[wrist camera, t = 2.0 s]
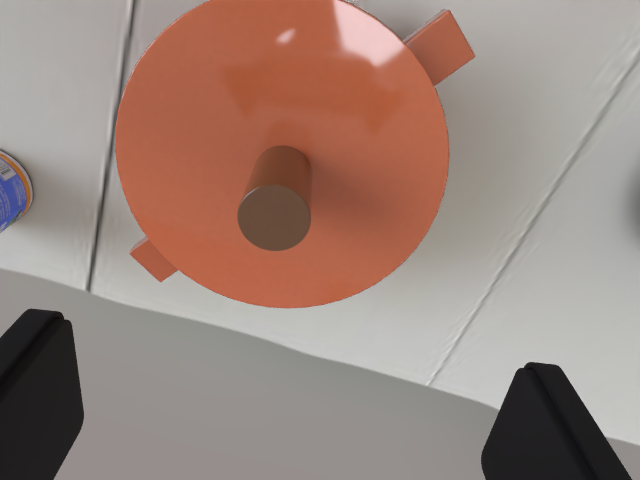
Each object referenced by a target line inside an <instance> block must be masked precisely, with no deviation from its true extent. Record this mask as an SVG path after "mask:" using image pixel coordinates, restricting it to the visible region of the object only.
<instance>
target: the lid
mask: <svg viewBox="0 0 640 480" xmlns="http://www.w3.org/2000/svg"><path fill="white" fill-rule="evenodd" d="M115 152H116V160H117V167H118V174H119V177H120V181H121V185H122V189H123V192H124V195H125V197H126V200H127V202H128V205H129V207H130V209H131V212H132V213H133V215H134V217H135V219H136V221H137V222H138V224H139V226H140V228H141V229H142V231H143V232H144V233H145V235H146V236H147V237H148V239H149V240H150V242H151V243H152V244H153V245H154V247H155V248H156V249H157V250H158V251H159V252H160V253H161V254H162V255H163V256H164V257H165V258H166V259H167V260H168V261H169V262H170V263H171V264H172V265H174V266H175V267H176V268H177V269H178V270H179V271H181V272H182V273H183V274H185V275H186V276H188V277H189V278H191V279H192V280H194V281H195V282H197V283H198V284H200V285H202V286H204V287H206V288H208V289H210V290H212V291H213V292H216V293H218V294H221V295H223V296H226V297H228V298H231V299H234V300H237V301H241V302H245V303H248V304H253V305H259V306H265V307H274V308H304V307H311V306H318V305H324V304H328V303H331V302H335V301H339V300H342V299H345V298H347V297H350V296H352V295H355V294H358V293H360V292H362V291H363V290H365V289H367V288H369V287H371V286H373V285H375V284H376V283H378V282H379V281H381V280H382V279H383V278H385V277H386V276H388V275H389V274H391V273H392V272H393V271H394V270H395V269H396V268H397V267H399V266H400V265H401V264H402V263H403V262H404V261H405V260H406V259H407V258H408V257H409V256H410V254H411V253H412V252H413V251H414V250H415V249H416V248H417V246H418V245H419V243H420V242H421V241H422V239H423V238H424V236H425V235H426V233H427V232H428V230H429V228H430V226H431V224H432V222H433V220H434V218H435V216H436V214H437V212H438V209H439V206H440V203H441V201H442V198H443V195H444V190H445V186H446V181H447V176H448V165H449V141H448V131H447V126H446V121H445V116H444V111H443V108H442V106H441V103H440V100H439V97H438V94H437V91H436V89H435V87H434V85H433V83H432V81H431V79H430V78H429V76H428V74H427V72H426V70H425V68H424V67H423V66H422V64H421V63H420V61H419V60H418V59H417V57H416V56H415V54H414V53H413V52H412V50H411V49H410V48H409V47H408V46H407V45H406V44H405V43H404V42H403V41H402V40H401V39H400V38H399V37H398V36H397V35H396V33H395V32H393V31H392V30H391V29H390V28H388V27H387V26H386V25H384V24H383V23H382V22H381V21H379V20H378V19H377V18H375V17H374V16H372V15H371V14H369V13H367V12H365V11H364V10H362V9H360V8H358V7H357V6H355V5H353V4H351V3H348V2H346V1H343V0H210V1H207V2H204V3H203V4H201V5H199V6H197V7H196V8H194V9H192V10H190V11H188V12H187V13H185V14H183V15H182V16H181V17H179V18H178V19H177V20H176V21H174V22H173V23H172V24H170V25H169V26H168V27H167V28H165V29H164V30H163V31H162V32H161V33H160V34H159V36H158V37H157V38H156V39H155V40H154V41H153V42H152V43H151V44H150V45H149V46H148V48H147V49H146V51H145V52H144V54H143V55H142V56H141V58H140V59H139V61H138V62H137V64H136V65H135V67H134V69H133V71H132V73H131V76H130V78H129V80H128V82H127V84H126V86H125V89H124V92H123V96H122V99H121V102H120V106H119V110H118V116H117V123H116V134H115Z"/></svg>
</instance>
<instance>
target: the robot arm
mask: <svg viewBox="0 0 640 480" xmlns="http://www.w3.org/2000/svg"><path fill="white" fill-rule="evenodd" d="M83 419H84V411H83V403H82V396H81V388H80V381H79V374H78V366H77V359H76V352H75V344H74V337H73V330H72V324H71V322H70V321H69V320H64V316H63V315H62V313H61V312H58V311H48V310H39V309H28V310H27V311H25V312H24V313H23V314H22V315H21V316H20V317H19V318H18V319H17V320H16V322H15V323H14V324H13V325H12V326H11V327H10V328H9V329H8V330H7V331H6V332H5V333H4V334H3V336H1V338H0V480H53V479H54V477H55V476H56V474H57V472H58V470H59V468H60V466H61V465H62V463H63V461H64V459H65V458H66V456H67V454H68V452H69V450H70V449H71V447H72V445H73V443H74V441H75V439H76V438H77V436H78V434H79V432H80V430H81V427H82V424H83ZM481 464H482V470H483V473H484V475H485V479H486V480H632V479H631V477H630V476H629V474H628V472H627V471H626V469H625V468H624V466H623V465H622V463H621V461H620V460H619V458H618V457H617V455H616V454H615V452H614V451H613V449H612V448H611V446H610V444H609V443H608V441H607V440H606V438H605V436H604V435H603V433H602V432H601V430H600V429H599V427H598V425H597V424H596V422H595V421H594V419H593V418H592V416H591V414H590V413H589V411H588V410H587V408H586V407H585V405H584V403H583V402H582V400H581V399H580V397H579V396H578V394H577V392H576V391H575V389H574V388H573V386H572V385H571V383H570V381H569V380H568V378H567V377H566V375H565V374H564V372H563V370H562V369H561V368H560V367H559V366H557V365H553V364H544V363H534V362H529V363H527V364H526V365H525V367H524V368H519V369H518V370H517V372H516V373H515V376H514V378H513V380H512V383H511V385H510V387H509V390H508V392H507V395H506V397H505V399H504V402H503V404H502V406H501V409H500V411H499V413H498V416H497V418H496V421H495V423H494V425H493V428H492V430H491V432H490V435H489V437H488V439H487V442H486V444H485V446H484V449H483V451H482V457H481Z"/></svg>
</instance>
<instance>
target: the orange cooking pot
mask: <svg viewBox="0 0 640 480" xmlns="http://www.w3.org/2000/svg"><path fill="white" fill-rule="evenodd" d="M402 41H403V42H404V43H405V44H406V45H407V46H408V47H409V48H410V49H411V50H412V52H413V53H414V54H415V56H416V57H417V59H418V60H419V61H420V63H421V64H422V66H423V67H424V68H425V70H426V72H427V74H428V76H429V78H430V79H431V81H432V83H433V85H434V86H435V85H437V84H438V83H440V82H441V81H442V80H444V79H445V78H447V77H448V76H449V75H451V74H452V73H454V72H455V71H456V70H458V69H459V68H461V67H462V66H463V65H465V64H466V63H467V62H469V61H470V60H472V59H473V58H474V57H475V54H474V53H473V51H472V49H471V47H470V45H469V44H468V42H467V40H466V38H465V37H464V35H463V33H462V31H461V29H460V28H459V26H458V24H457V22H456V20H455V19H454V17H453V15H452V13H451V12H450V10H447V9H443V10H442V11H440V12H439V13H438V14H436V15H435V16H434V17H432V18H431V19H430V20H429V21H427V22H426V23H425V24H423V25H422V26H421V27H419V28H418V29H417V30H415V31H414V32H413V33H411V34H410V35H409V36H408V37H406V38H405V39H404V40H402ZM129 254H130V255H131V256H132V257H133V258H134V259H136V260H137V261H138V262H139V263H140V264H141V265H142V266H143V267H144V268H145V269H146V270H147V271H148V272H150V273H151V274H152V275H153V276H154V277H155V278H156V279H157V280H158V281H159V282H162V281H163V280H165V279H166V278H168V277H169V276H170V275H172V274H173V273H175V272H176V271H177V270H178V269H177V268H176V267H175V266H174V265H172V264H171V263H170V262H169V261H168V260H167V259H166V258H165V257H164V256H163V255H162V254H161V253H160V252H159V251H158V250H157V249H156V248H155V247H154V245H153V244H152V243H151V242H150V240H149V239H148V237H147V236H146V237H144V238H143V239H142V240H140V241H139V242H138V243H136V244H135V245H134V247H133V248H132V249H131V251H130V252H129Z"/></svg>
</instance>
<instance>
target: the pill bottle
mask: <svg viewBox="0 0 640 480" xmlns="http://www.w3.org/2000/svg"><path fill="white" fill-rule="evenodd" d="M32 197H33V191H32V186H31V182H30V179H29V177H28V175H27V173H26V172H25V170H24V169H23V168H22V167H21V165H20V164H19V163H18V162H17V161H16V160H14V159H13V158H12V157H10V156H9V155H7V154H6V153H4V152H2V151H0V233H1V232H2V231H3V230H5V229H6V228H7V227H9V226H10V225H11V224H13V223H14V222H15V221H17V220H18V219H19V218H20V217H22V216H23V215H24V214H25V213H26V212H27V210H28V209H29V207H30V205H31V202H32Z"/></svg>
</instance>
